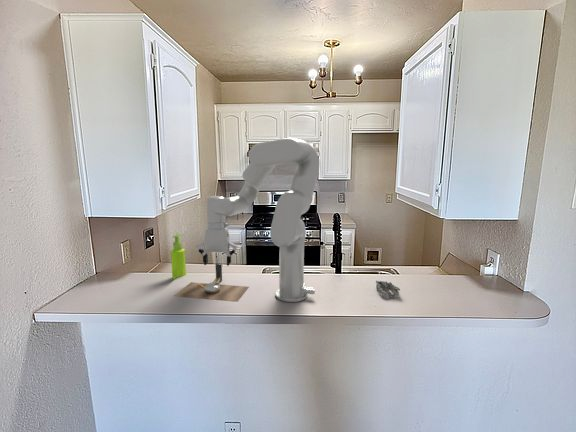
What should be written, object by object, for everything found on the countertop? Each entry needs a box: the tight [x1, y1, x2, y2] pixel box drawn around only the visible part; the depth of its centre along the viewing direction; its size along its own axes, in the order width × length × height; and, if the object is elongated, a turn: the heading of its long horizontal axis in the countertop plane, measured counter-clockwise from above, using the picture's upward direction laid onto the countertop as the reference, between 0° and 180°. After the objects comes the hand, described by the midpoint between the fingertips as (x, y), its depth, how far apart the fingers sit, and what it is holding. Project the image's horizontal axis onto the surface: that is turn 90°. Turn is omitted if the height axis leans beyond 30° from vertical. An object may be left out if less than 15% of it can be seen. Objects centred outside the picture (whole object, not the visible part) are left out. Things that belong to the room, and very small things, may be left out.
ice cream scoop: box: [205, 262, 223, 294], centre depth 124 cm, size 15×6×7 cm, turn 179°
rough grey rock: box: [375, 280, 401, 299], centre depth 122 cm, size 11×8×4 cm
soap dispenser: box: [170, 233, 187, 280], centre depth 138 cm, size 6×7×20 cm
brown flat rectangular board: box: [173, 282, 250, 303], centre depth 120 cm, size 26×14×2 cm, turn 79°
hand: (217, 264), depth 130 cm, fingers open, 9 cm apart
